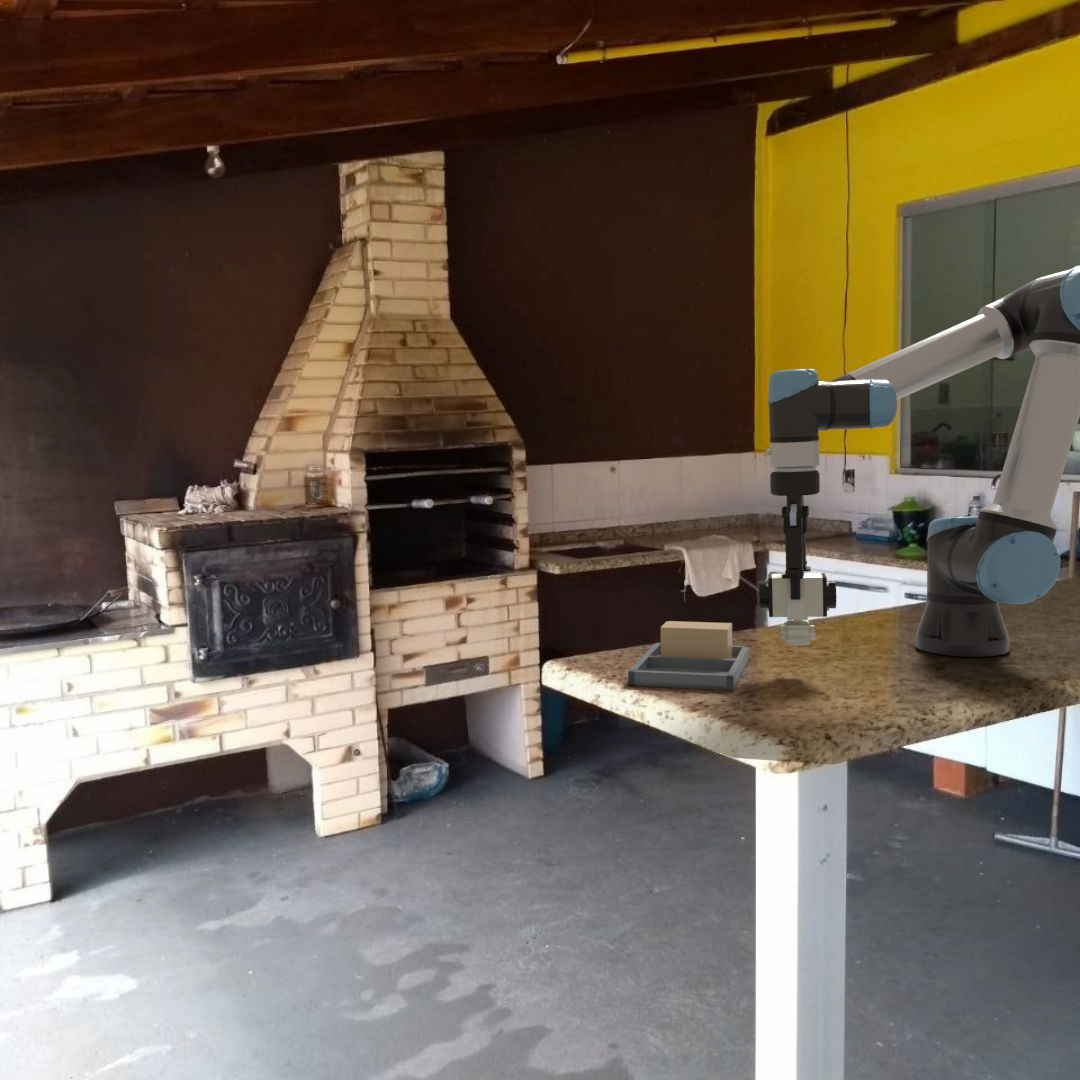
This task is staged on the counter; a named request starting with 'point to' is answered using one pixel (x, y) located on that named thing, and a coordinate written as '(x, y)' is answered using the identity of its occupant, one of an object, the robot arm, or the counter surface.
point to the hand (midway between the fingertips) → (797, 615)
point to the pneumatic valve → (816, 604)
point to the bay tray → (692, 658)
